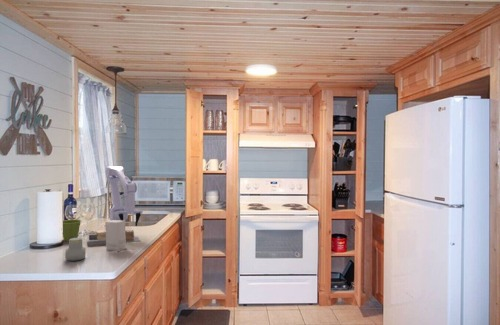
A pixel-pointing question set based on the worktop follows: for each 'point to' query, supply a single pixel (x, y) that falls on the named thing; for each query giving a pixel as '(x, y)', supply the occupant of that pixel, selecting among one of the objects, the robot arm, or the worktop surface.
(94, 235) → the parts bin
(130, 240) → the coaster
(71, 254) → the air freshener
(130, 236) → the box stamped
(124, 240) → the skincare box
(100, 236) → the box plain
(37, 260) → the worktop surface
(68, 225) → the plant pot
